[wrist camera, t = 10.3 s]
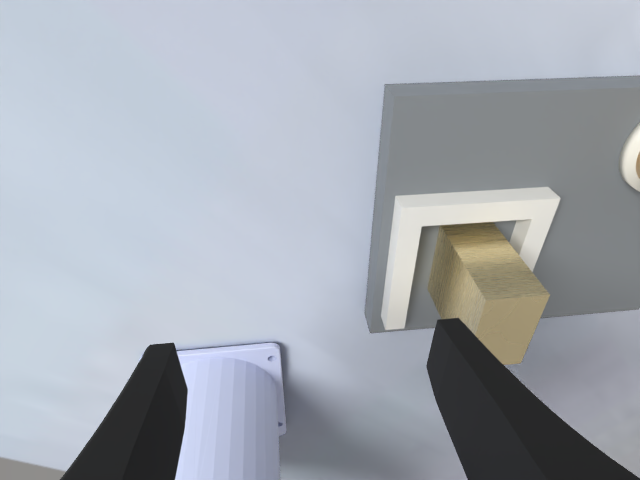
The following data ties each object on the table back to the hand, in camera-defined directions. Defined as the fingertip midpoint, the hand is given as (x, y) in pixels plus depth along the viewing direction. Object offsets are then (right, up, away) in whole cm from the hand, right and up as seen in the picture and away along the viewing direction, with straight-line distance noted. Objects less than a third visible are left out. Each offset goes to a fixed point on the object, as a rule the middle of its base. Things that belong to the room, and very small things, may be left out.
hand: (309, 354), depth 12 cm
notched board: (+11, +5, +10) cm, 15 cm away
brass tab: (+7, +2, +9) cm, 12 cm away
